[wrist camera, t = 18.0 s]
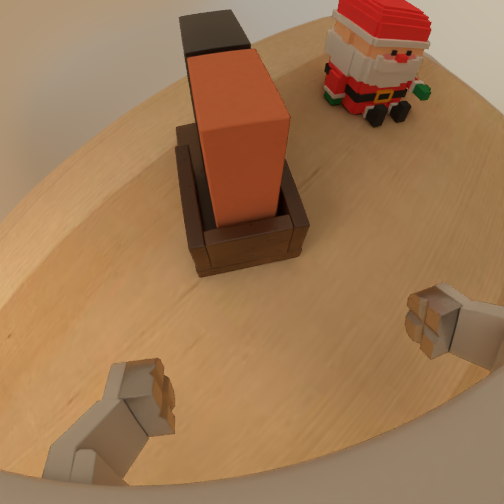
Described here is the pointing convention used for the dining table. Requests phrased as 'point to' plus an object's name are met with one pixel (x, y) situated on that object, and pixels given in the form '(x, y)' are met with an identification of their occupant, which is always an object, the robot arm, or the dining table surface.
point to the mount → (196, 185)
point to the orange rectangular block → (239, 134)
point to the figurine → (376, 57)
